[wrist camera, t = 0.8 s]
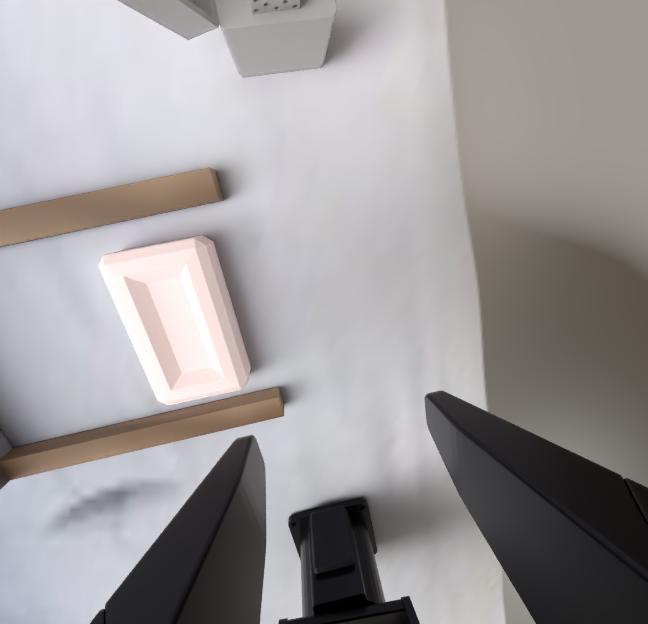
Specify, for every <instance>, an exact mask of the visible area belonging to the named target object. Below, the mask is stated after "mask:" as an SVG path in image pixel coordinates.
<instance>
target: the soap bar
mask: <svg viewBox="0 0 648 624" xmlns="http://www.w3.org/2000/svg"><path fill="white" fill-rule="evenodd" d="M98 267H99V269H100V271H101V273H102V276H103V278H104V280H105V282H106V285H107V287H108V289H109V291H110V294H111V296H112V298H113V300H114V303H115V305H116V307H117V310H118V312H119V314H120V316H121V319H122V321H123V323H124V325H125V328H126V330H127V332H128V334H129V337H130V339H131V341H132V343H133V346H134V348H135V350H136V353H137V355H138V357H139V359H140V362H141V364H142V366H143V368H144V371H145V373H146V375H147V377H148V380H149V382H150V384H151V386H152V389H153V391H154V393H155V396H156V398H157V400H158V401H159V402H162V403H164V404H166V405H172V404H177V403H182V402H186V401H191V400H196V399H200V398H205V397H210V396H214V395H219V394H224V393H228V392H233V391H238V390H242V389H243V388H244V386H245V385H246V384H247V382H248V379H249V374H250V370H251V366H250V362H249V359H248V356H247V352H246V349H245V346H244V342H243V339H242V336H241V332H240V329H239V326H238V322H237V319H236V316H235V312H234V309H233V306H232V302H231V299H230V296H229V292H228V289H227V286H226V282H225V279H224V275H223V272H222V269H221V265H220V262H219V259H218V255H217V252H216V249H215V245H214V242H213V241H211V240H210V239H208V238H207V237H205V236H204V235H201V236H195V237H190V238H185V239H180V240H174V241H169V242H164V243H159V244H153V245H148V246H143V247H138V248H132V249H127V250H122V251H118V252H114V253H111V254H107V255H104V256H103V258H102V260H101V262H100V264H99V266H98Z"/></svg>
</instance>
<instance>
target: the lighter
mask: <svg viewBox="0 0 648 624" xmlns="http://www.w3.org/2000/svg"><path fill="white" fill-rule="evenodd" d="M118 1H119V2H121V3H123V4H125V5H127V6H128V7H130V8H132V9H134V10H135V11H137V12H139V13H141V14H143V15H144V16H146V17H148V18H150V19H152V20H153V21H155V22H157V23H159V24H160V25H162V26H164V27H166V28H168V29H169V30H171V31H173V32H175V33H176V34H178V35H180V36H182V37H184V38H185V39H187V40H190V39H192V38H194V37H197V36H199V35H201V34H204V33H206V32H208V31H211V30H213V29H216V28H218V26H219V24H220V27H221V30H222V32H223V35H224V37H225V40H226V42H227V45H228V48H229V50H230V53H231V55H232V58H233V60H234V63H235V65H236V68H237V71H238V73H239V74H240V75H241V76H242V77H251V76H259V75H267V74H275V73H283V72H291V71H299V70H307V69H315V68H321V67H322V65H323V63H324V60H325V56H326V52H327V47H328V43H329V39H330V35H331V31H332V27H333V23H334V18H335V14H336V0H118Z"/></svg>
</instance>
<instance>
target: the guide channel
mask: <svg viewBox="0 0 648 624" xmlns="http://www.w3.org/2000/svg"><path fill="white" fill-rule="evenodd" d="M219 201H224V199H223V196H222V192H221V189H220V186H219V182H218V179H217V175H216V172H215V170H213V169H211V168H205V169H200V170H195V171H191V172H186V173H181V174H176V175H171V176H166V177H161V178H156V179H151V180H147V181H142V182H137V183H132V184H127V185H122V186H117V187H112V188H108V189H103V190H98V191H93V192H88V193H83V194H78V195H73V196H69V197H64V198H59V199H54V200H49V201H44V202H39V203H34V204H30V205H25V206H20V207H15V208H10V209H5V210H0V247H4V246H9V245H13V244H18V243H23V242H28V241H32V240H37V239H42V238H47V237H52V236H56V235H61V234H66V233H71V232H76V231H80V230H85V229H90V228H95V227H99V226H104V225H109V224H114V223H119V222H123V221H128V220H133V219H138V218H143V217H147V216H152V215H157V214H162V213H167V212H171V211H176V210H181V209H186V208H190V207H195V206H200V205H205V204H210V203H214V202H219ZM282 416H284V402H283V399H282V396H281V392H280V389H279V387H275V388H271V389H266V390H262V391H258V392H253V393H249V394H245V395H240V396H236V397H232V398H227V399H223V400H219V401H214V402H210V403H206V404H201V405H197V406H193V407H188V408H184V409H180V410H175V411H171V412H167V413H162V414H158V415H154V416H149V417H145V418H141V419H136V420H132V421H128V422H123V423H119V424H115V425H110V426H106V427H102V428H97V429H93V430H89V431H84V432H80V433H76V434H71V435H67V436H63V437H58V438H54V439H50V440H45V441H41V442H37V443H32V444H28V445H24V446H19V447H15V448H13V447H12V446H11V444H10V443H9V441H8V440H7V439H6V437H5V436H4V435H3V433H2V432H1V430H0V489H1V488H2V487H4V486H5V485H6V484H7V483H8V482H9V481H10V480H13V479H17V478H21V477H26V476H30V475H34V474H38V473H43V472H47V471H51V470H55V469H60V468H64V467H68V466H73V465H77V464H81V463H85V462H90V461H94V460H98V459H102V458H107V457H111V456H115V455H120V454H124V453H128V452H132V451H137V450H141V449H145V448H149V447H154V446H158V445H162V444H167V443H171V442H175V441H179V440H184V439H188V438H192V437H196V436H201V435H205V434H209V433H214V432H218V431H222V430H226V429H231V428H235V427H239V426H244V425H248V424H252V423H256V422H261V421H265V420H269V419H273V418H278V417H282Z"/></svg>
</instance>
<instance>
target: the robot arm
mask: <svg viewBox="0 0 648 624" xmlns="http://www.w3.org/2000/svg"><path fill="white" fill-rule="evenodd" d="M425 408H426V419H427V425H428V428H429V431H430V433H431V436H432V438H433V440H434V442H435V444H436V446H437V448H438V451H439V453H440V455H441V457H442V459H443V461H444V463H445V465H446V468H447V470H448V472H449V474H450V476H451V478H452V480H453V483H454V485H455V487H456V489H457V491H458V493H459V495H460V497H461V498H462V500H463V502H464V504H465V505H466V507H467V509H468V510H469V512H470V514H471V515H472V517H473V519H474V520H475V522H476V524H477V526H478V527H479V529H480V531H481V532H482V534H483V536H484V537H485V539H486V541H487V542H488V544H489V546H490V547H491V549H492V551H493V552H494V554H495V556H496V557H497V559H498V561H499V562H500V564H501V566H502V567H503V569H504V571H505V572H506V574H507V576H508V577H509V579H510V581H511V582H512V584H513V586H514V587H515V589H516V591H517V592H518V594H519V596H520V597H521V599H522V601H523V602H524V604H525V606H526V607H527V609H528V611H529V613H530V614H531V616H532V618H533V619H534V621H535V622H536V624H648V488H647V487H645V486H643V485H641V484H639V483H636V482H634V481H633V480H630V479H628V478H625V479H623V477H622V476H621V475H619V474H617V473H615V472H613V471H611V470H609V469H607V468H605V467H603V466H600V465H598V464H596V463H594V462H592V461H590V460H588V459H586V458H584V457H582V456H579V455H577V454H575V453H573V452H571V451H569V450H567V449H564V448H562V447H560V446H558V445H556V444H554V443H552V442H550V441H548V440H546V439H543V438H541V437H539V436H537V435H535V434H533V433H531V432H529V431H527V430H524V429H522V428H520V427H518V426H516V425H514V424H512V423H510V422H508V421H506V420H503V419H501V418H499V417H497V416H495V415H493V414H491V413H489V412H487V411H485V410H482V409H480V408H478V407H476V406H474V405H472V404H470V403H468V402H466V401H463V400H461V399H459V398H457V397H455V396H453V395H451V394H449V393H447V392H444V391H436V392H432V393H428V394H426V396H425ZM289 528H290V531H291V534H292V537H293V540H294V542H295V545H296V548H297V551H298V554H299V557H300V560H301V579H302V611H303V617H302V618H296V619H291V620H288V619H287V618H286V619H280V620H279V624H420V623H419V620H418V618H417V615H416V613H415V610H414V607H413V605H412V602H411V600H410V597H409V596H406V597H401V599H400V600H394V601H389V602H385V598H384V594H383V590H382V586H381V581H380V577H379V573H378V569H377V565H376V561H375V556H374V555H375V554H376V553H377V547H376V542H375V537H374V532H373V527H372V522H371V518H370V513H369V508H368V504H367V501H366V500H365V499H363V498H362V499H357V500H353V501H348V502H344V503H340V504H336V505H332V506H328V507H324V508H320V509H316V510H312V511H308V512H304V513H299V514H295V515H292V516H290V517H289ZM265 554H266V482H265V464H264V460H263V457H262V454H261V452H260V449H259V446H258V443H257V440H256V438H255V437H254V436H253V435H249V436H245V437H241V438H238V439H236V440H235V441H234V442H233V443H232V445H231V446H230V447H229V448H228V450H227V451H226V452H225V453H224V455H223V456H222V457H221V458H220V460H219V461H218V462H217V464H216V465H215V466H214V467H213V469H212V470H211V471H210V472H209V474H208V475H207V476H206V477H205V479H204V480H203V481H202V483H201V484H200V485H199V486H198V488H197V489H196V490H195V491H194V493H193V494H192V495H191V496H190V498H189V499H188V500H187V501H186V503H185V504H184V505H183V507H182V508H181V509H180V510H179V512H178V513H177V514H176V515H175V517H174V518H173V519H172V520H171V522H170V523H169V524H168V526H167V527H166V528H165V529H164V531H163V532H162V533H161V534H160V536H159V537H158V538H157V539H156V541H155V542H154V543H153V545H152V546H151V547H150V548H149V550H148V551H147V552H146V553H145V555H144V556H143V557H142V558H141V560H140V561H139V562H138V564H137V565H136V566H135V567H134V569H133V570H132V571H131V572H130V574H129V575H128V576H127V577H126V579H125V580H124V581H123V583H122V584H121V585H120V586H119V588H118V589H117V590H116V591H115V593H114V594H113V595H112V596H111V598H110V599H109V600H108V602H107V603H106V605H105V609H102V610H100V611H99V613H98V614H97V615H96V616H95V618H94V619H93V620H92V622H91V623H90V624H260V613H261V601H262V589H263V578H264V566H265Z"/></svg>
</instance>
